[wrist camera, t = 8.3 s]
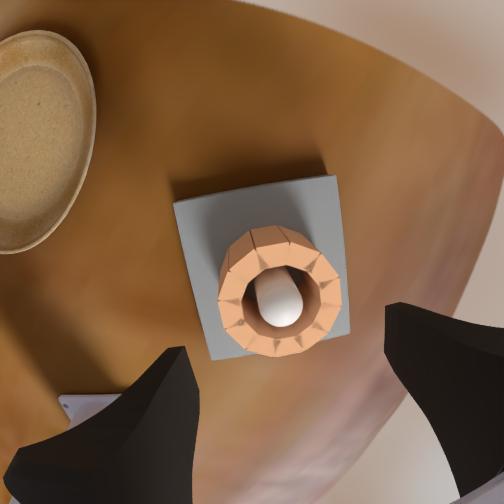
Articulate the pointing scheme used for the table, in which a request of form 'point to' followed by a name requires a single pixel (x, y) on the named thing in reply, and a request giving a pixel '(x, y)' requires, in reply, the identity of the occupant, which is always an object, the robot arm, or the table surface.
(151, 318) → the table surface
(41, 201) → the plant saucer
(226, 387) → the table surface
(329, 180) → the post base
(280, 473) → the table surface
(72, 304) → the table surface
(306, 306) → the ring
